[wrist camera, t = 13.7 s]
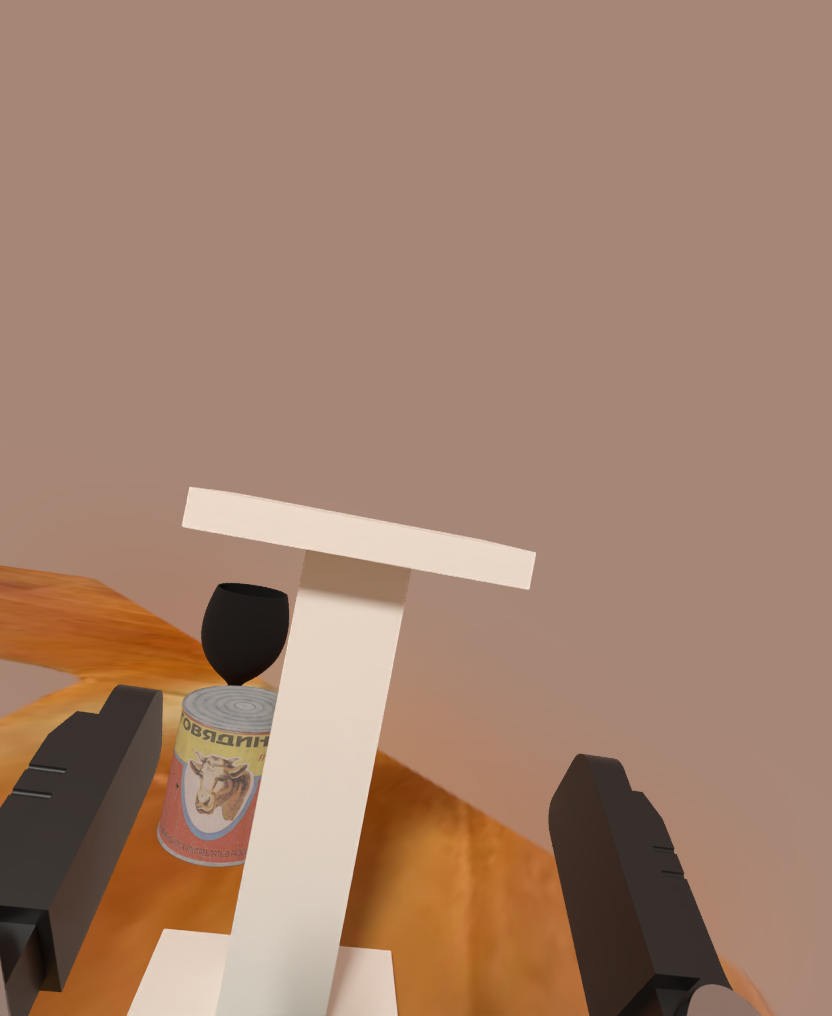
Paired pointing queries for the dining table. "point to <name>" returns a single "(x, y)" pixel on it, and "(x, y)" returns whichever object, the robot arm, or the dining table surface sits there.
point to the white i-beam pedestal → (313, 766)
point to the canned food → (216, 774)
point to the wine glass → (244, 630)
